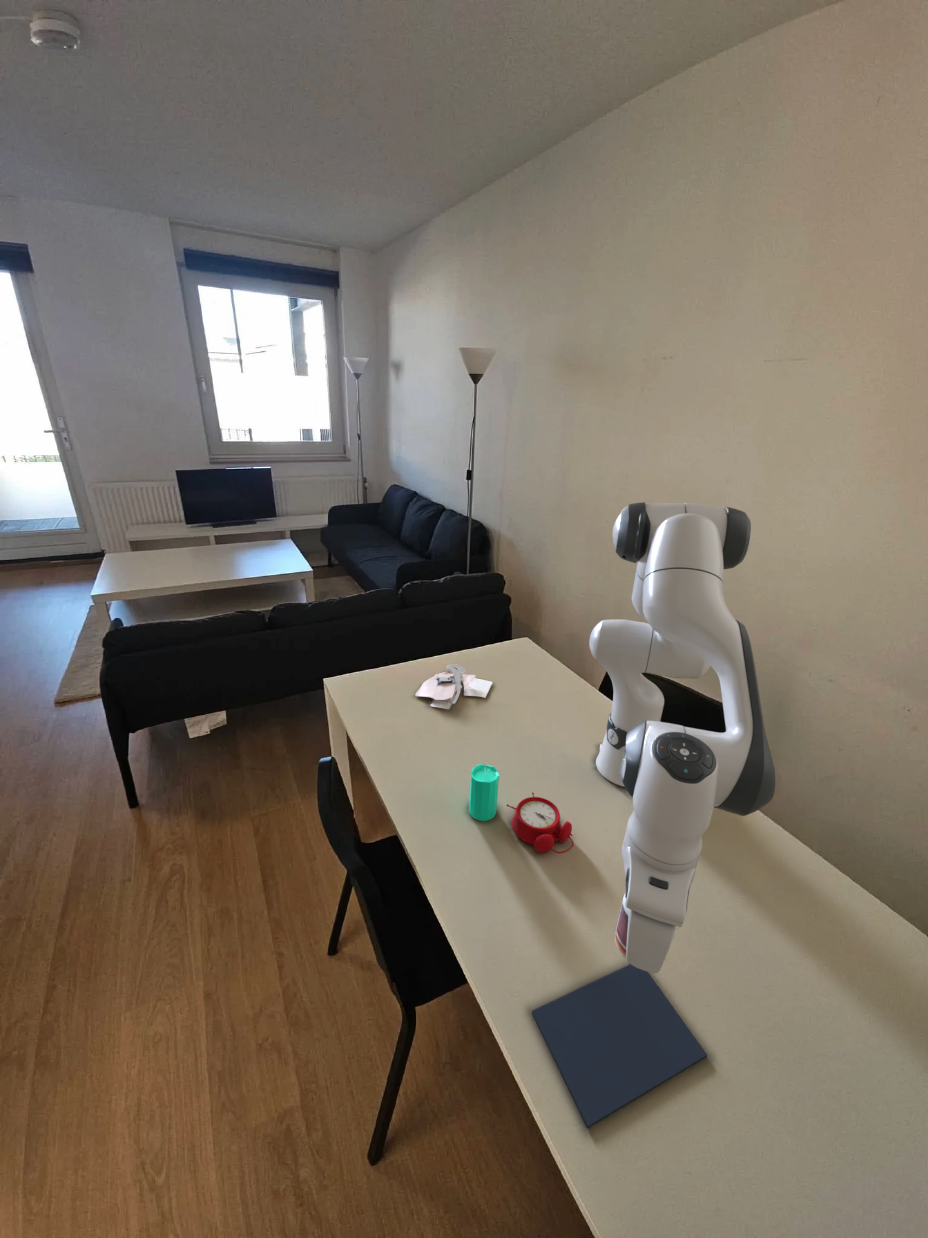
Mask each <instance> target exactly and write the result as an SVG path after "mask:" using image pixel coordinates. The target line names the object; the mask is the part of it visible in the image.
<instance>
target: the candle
mask: <svg viewBox="0 0 928 1238" xmlns="http://www.w3.org/2000/svg"><path fill="white" fill-rule="evenodd" d="M499 780H500V773H499V771H498V770H497V768H496V767H495V766H494V765H489V764H484V763H479V764H477V765H475V766H474V767H473V768H472V769H471V771H470V786H469V787H470V788H469V805H468V806H469V815H470V816H471V817H472V818H473V819H475V820H477V821H480V822H487V821H490V820H492V819H494V817H495V816H496V814H497V808H498V794H499Z"/></svg>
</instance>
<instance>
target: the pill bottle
mask: <svg viewBox="0 0 928 1238" xmlns="http://www.w3.org/2000/svg"><path fill="white" fill-rule="evenodd" d="M625 901H626V898H625V893H624V895H623V898H622V902H621V905H620V911H619V915H618V920H617V924H616V928H615V934H614V941H615V945H616V947H617V950H618V951H619V953H620V954H621V955H622V956H623V958H624V959H626V960H627V958H626V945H627V931H628V914H629V908H627V907H626V906H625Z"/></svg>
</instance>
